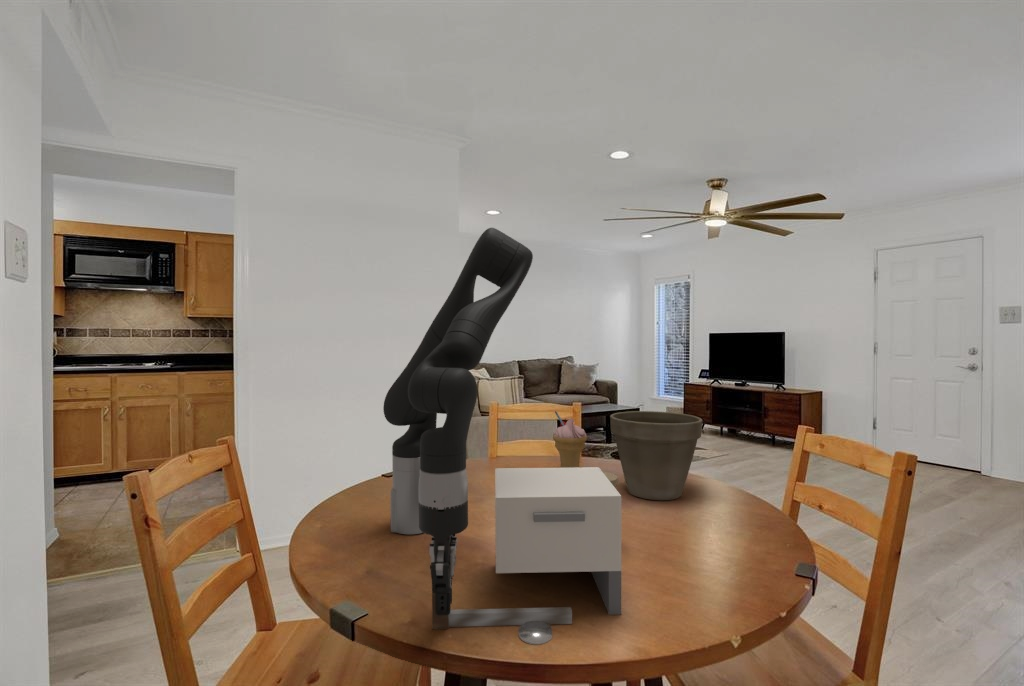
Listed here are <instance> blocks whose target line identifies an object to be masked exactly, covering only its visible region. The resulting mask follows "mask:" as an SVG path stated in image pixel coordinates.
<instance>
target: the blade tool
mask: <svg viewBox="0 0 1024 686" xmlns="http://www.w3.org/2000/svg"><path fill="white" fill-rule="evenodd" d="M431 602H432V603H431V615H432V616H431V623H432V625H431V626H432V627H431V628H432V630H448V629H449V628H452V627H453V628H457V627H459V628H461V627H489V626H490V627H495V626H496V627H497V626H498V627H501V626H502V627H503V626H521V625H522V624H524V623H526V622H530V621H540V622H544V623H546V624H548V625H572V624H573V610H572V606H561V607H560V606H559V607H558V606H557V607H556V606H555V607H554V606H553V607H514V608H513V607H511V608H510V607H508V608H506V607H505V608H467V609H462V608H461V609H451V610H450V614H449V615H437V614H436V612H435V593H433V591H432V590H431Z"/></svg>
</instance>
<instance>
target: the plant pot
mask: <svg viewBox="0 0 1024 686" xmlns="http://www.w3.org/2000/svg"><path fill="white" fill-rule="evenodd" d="M609 419H610V433H611V434H612V435H614V438H615V445H616V449H617V452H618V453H617V454H618V456H619V461H620V465H621V469H622V472H623V476H624V481H625V485H626V489H627V492H628V493H629V494H630V495H632V496H635V497H636V498H637V497H638V498H641V499H646V500H651V501H672V500H675V499H678V498H680V497H682V495H683V491H684V488H685V486H686V481H687V478H688V476H689V472H690V469H691V465H692V461H693V458H694V454H695V451H696V447H697V442H698V440H699V439H700V438H701V437H702V431H703V419H702V418H701V417H699V416H696V415H691V414H686V413H678V412H671V411H670V412H669V411H657V410H656V411H653V410H636V411H635V410H633V411H623V412H622V411H621V412H616V413H612V414H610V415H609Z"/></svg>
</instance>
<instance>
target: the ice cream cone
mask: <svg viewBox="0 0 1024 686" xmlns="http://www.w3.org/2000/svg"><path fill="white" fill-rule="evenodd" d="M554 414H555V416H556V417H557V419H558V420H559V422H560V424H559V425H560V426H558V427H557V428H556V430H555V431H554V433H553V435H552V440H553V441H554V447H555V448H556V450H557V451H558V454H559V459H560V461H559V462H560V468H574V467H580V462H581V461H580V460H581V453H582V452H583V450H584V449H585V448H586V443H585V442H587V440H588V435H587V433H586V431H585V430H584V428H581V427H580V426H579V425H576V424H574V422H575V419H573V418H569V419H568V420H567V421H566V419H564V421H563V419H562V418H561V417H560V415H559V413H558V412H557V411H556V410H555V411H554Z"/></svg>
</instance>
